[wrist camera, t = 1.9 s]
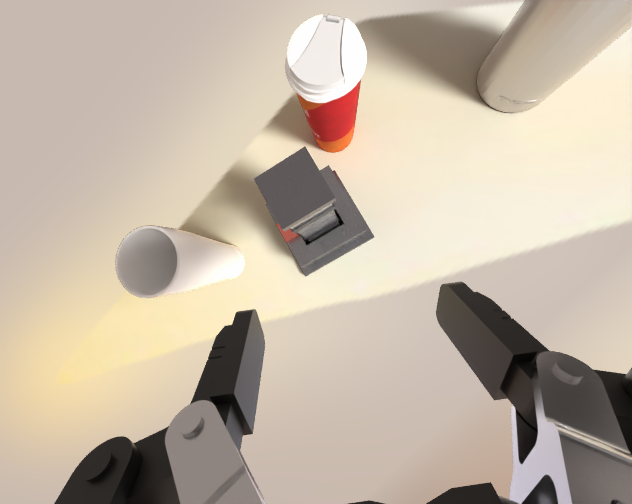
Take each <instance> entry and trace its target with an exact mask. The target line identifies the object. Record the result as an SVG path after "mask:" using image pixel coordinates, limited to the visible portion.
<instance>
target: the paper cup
mask: <svg viewBox="0 0 632 504" xmlns="http://www.w3.org/2000/svg"><path fill="white" fill-rule="evenodd" d="M366 63H367V51H366V47H365V43H364V41H363V39H362V37H361V34H360V32H359V30H358V28H357V27H356V26H355V24H354V23H353V22H352V21H351V20H349V19H348V18H346V19H340V16H334V15H328V16H327V17H325V16H323V15H322V14H319V15H316V16H314V17H311V18H309V19H308V20H306V21H305V22H303V23H302V24H301V25H300V26H299V27H298V28H297V29H296V31H295V32H294V33H293V35H292V37H291V39H290V41H289V44H288V48H287V57H286V63H285V69H286V75H287V79H288V81H289V83H290V85H291V87H292V88H293V89H294V90H295V91H296V93H297V95H298V98H299V100H300V103H301V105H302V108H303V111H304V113H305V116H306V118H307V121H308V123H309V126H310V128H311V130H312V133H313V135H314V138H315V140H316V142H317V144H318V145H319V147H320V148H321V149H323V150H324V151H327V152H331V153H335V152H339V151H342V150H343V149H345V148H346V147H347V146H348V145H349V144H350V142H351V140H352V137H353V133H354V127H355V120H356V112H357V105H358V98H359V90H360V83H361V77H362V75H363V73H364V71H365V67H366Z"/></svg>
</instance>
